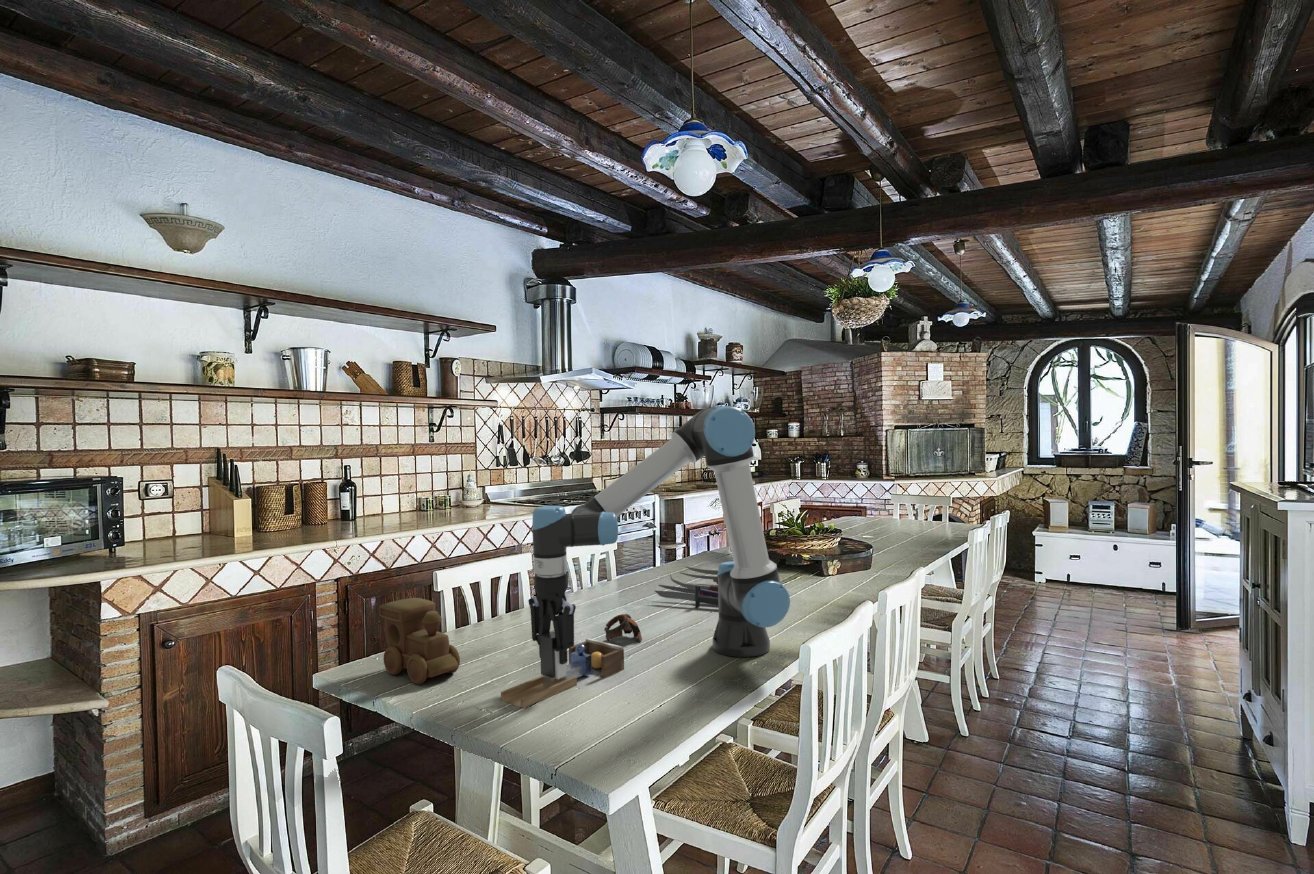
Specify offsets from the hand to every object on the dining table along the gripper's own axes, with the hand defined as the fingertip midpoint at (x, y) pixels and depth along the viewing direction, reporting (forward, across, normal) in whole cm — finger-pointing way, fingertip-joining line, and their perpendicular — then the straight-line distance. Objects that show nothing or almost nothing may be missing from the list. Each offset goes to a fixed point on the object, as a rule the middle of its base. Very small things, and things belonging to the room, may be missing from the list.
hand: (553, 674), depth 159 cm
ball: (+1, 0, +14) cm, 15 cm away
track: (+3, 0, -4) cm, 5 cm away
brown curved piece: (+3, -9, +35) cm, 36 cm away
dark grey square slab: (+3, 0, +4) cm, 5 cm away
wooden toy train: (+3, -33, -13) cm, 36 cm away
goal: (+3, 0, +14) cm, 14 cm away
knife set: (+4, -17, +90) cm, 91 cm away
